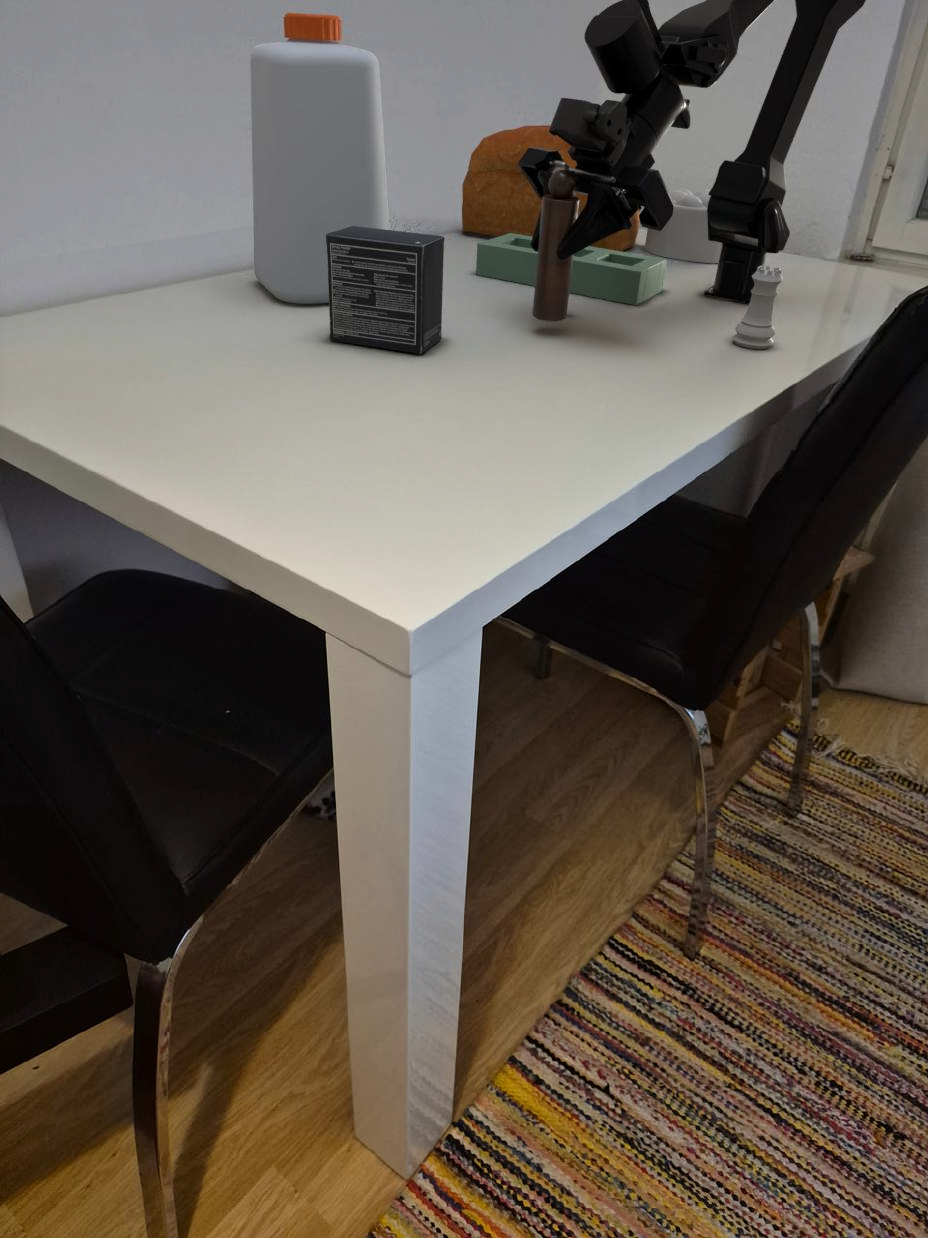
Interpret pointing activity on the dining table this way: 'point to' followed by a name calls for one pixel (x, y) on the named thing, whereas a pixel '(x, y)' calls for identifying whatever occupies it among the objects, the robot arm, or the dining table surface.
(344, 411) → the dining table surface
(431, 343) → the small box
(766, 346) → the rook chess piece
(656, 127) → the robot arm
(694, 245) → the lumpy-topped squat cylinder
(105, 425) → the dining table surface
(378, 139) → the plastic bottle
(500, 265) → the green three-slot holder
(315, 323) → the dining table surface
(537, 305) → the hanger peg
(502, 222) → the bread
